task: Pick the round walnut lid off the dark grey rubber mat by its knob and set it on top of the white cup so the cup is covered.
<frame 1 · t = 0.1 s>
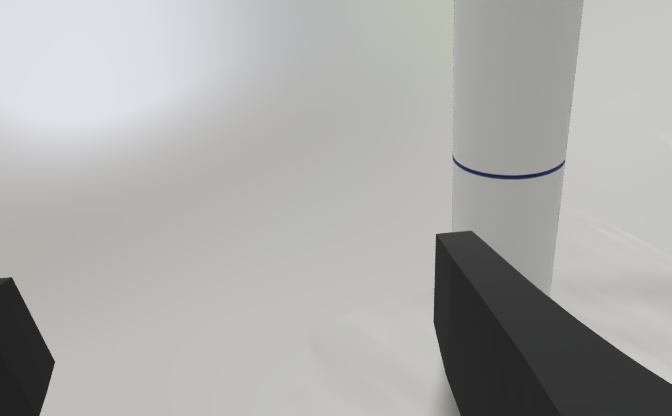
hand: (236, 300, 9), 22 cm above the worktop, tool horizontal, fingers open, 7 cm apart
cylindrical container: (498, 307, 42), on the worktop
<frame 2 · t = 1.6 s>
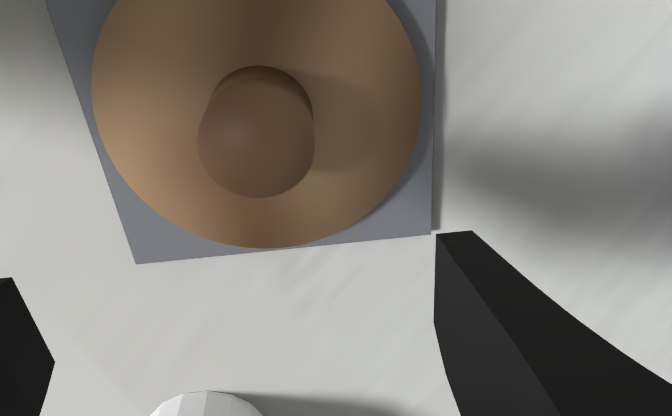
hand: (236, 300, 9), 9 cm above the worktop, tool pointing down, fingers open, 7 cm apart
walnut lid: (262, 109, 17), resting on rubber mat
rubber mat: (262, 105, 17), on the worktop
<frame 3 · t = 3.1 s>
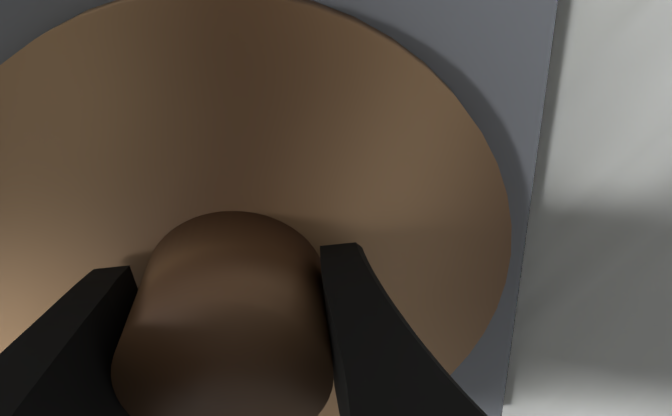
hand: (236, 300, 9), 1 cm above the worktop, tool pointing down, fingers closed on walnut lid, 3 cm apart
walnut lid: (240, 265, 10), resting on rubber mat, touching gripper
rubber mat: (242, 252, 11), on the worktop
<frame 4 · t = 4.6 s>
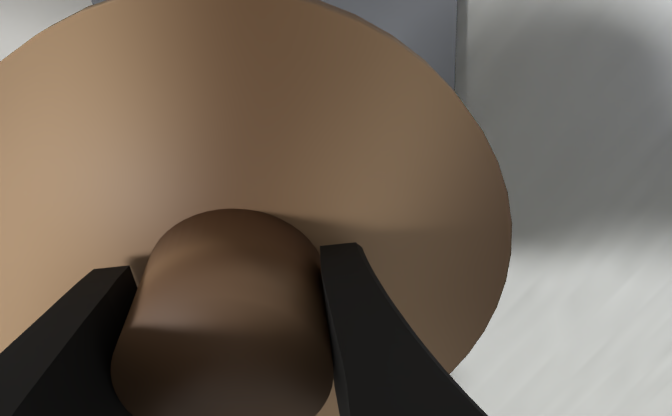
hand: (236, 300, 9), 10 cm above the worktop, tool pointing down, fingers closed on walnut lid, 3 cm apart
walnut lid: (240, 263, 10), point 9 cm above the worktop, touching gripper
rubber mat: (279, 4, 17), on the worktop
when the fingers open (9 cm above the worktop, at t = 6.1 s): walnut lid drops 1 cm, resting on white cup.
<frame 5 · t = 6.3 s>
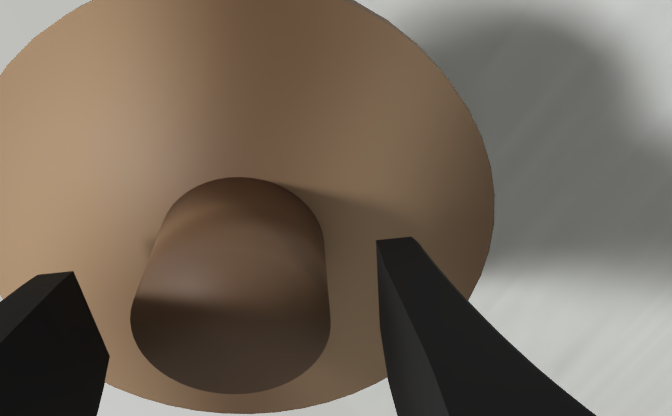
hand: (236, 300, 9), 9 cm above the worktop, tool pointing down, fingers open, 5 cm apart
walnut lid: (245, 231, 11), point 7 cm above the worktop, touching white cup
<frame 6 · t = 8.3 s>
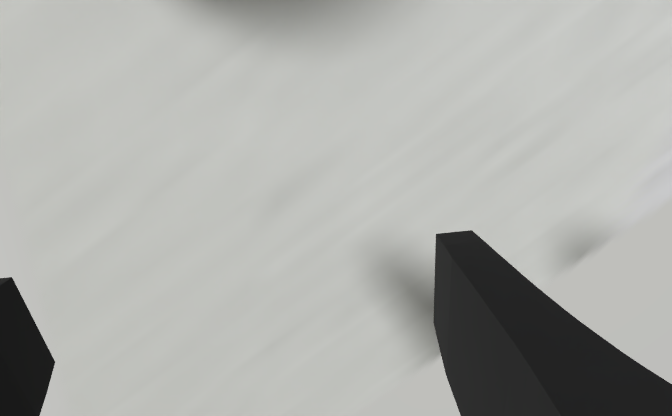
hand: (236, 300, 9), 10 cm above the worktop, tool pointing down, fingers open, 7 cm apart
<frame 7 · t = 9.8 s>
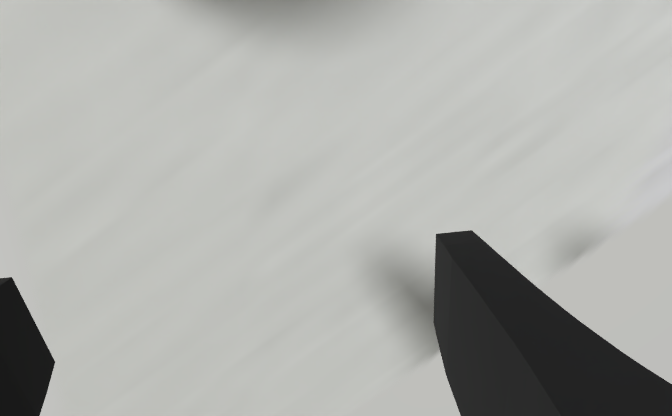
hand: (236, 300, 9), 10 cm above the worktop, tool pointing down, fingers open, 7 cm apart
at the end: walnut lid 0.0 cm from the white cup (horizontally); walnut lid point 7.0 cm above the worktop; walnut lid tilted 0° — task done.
